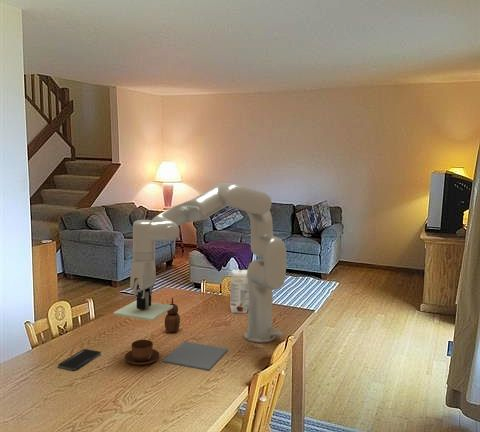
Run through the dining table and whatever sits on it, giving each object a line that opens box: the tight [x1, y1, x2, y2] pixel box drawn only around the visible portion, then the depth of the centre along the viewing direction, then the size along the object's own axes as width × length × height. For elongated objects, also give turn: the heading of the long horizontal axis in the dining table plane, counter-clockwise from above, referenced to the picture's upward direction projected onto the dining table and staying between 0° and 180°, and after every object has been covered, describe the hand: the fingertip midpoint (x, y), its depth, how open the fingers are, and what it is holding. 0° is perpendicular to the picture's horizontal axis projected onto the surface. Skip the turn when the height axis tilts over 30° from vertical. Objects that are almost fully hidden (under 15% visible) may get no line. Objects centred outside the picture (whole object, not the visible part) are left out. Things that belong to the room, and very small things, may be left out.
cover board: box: [113, 291, 173, 322], centre depth 170 cm, size 15×15×7 cm
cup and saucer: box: [124, 339, 160, 366], centre depth 173 cm, size 12×12×6 cm
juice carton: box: [229, 269, 249, 314], centre depth 225 cm, size 8×9×19 cm
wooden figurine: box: [164, 296, 181, 333], centre depth 199 cm, size 7×6×15 cm
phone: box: [57, 348, 102, 372], centre depth 171 cm, size 8×1×15 cm
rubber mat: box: [161, 341, 229, 372], centre depth 177 cm, size 18×18×1 cm
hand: (144, 306), depth 170 cm, fingers closed on cover board, 3 cm apart
